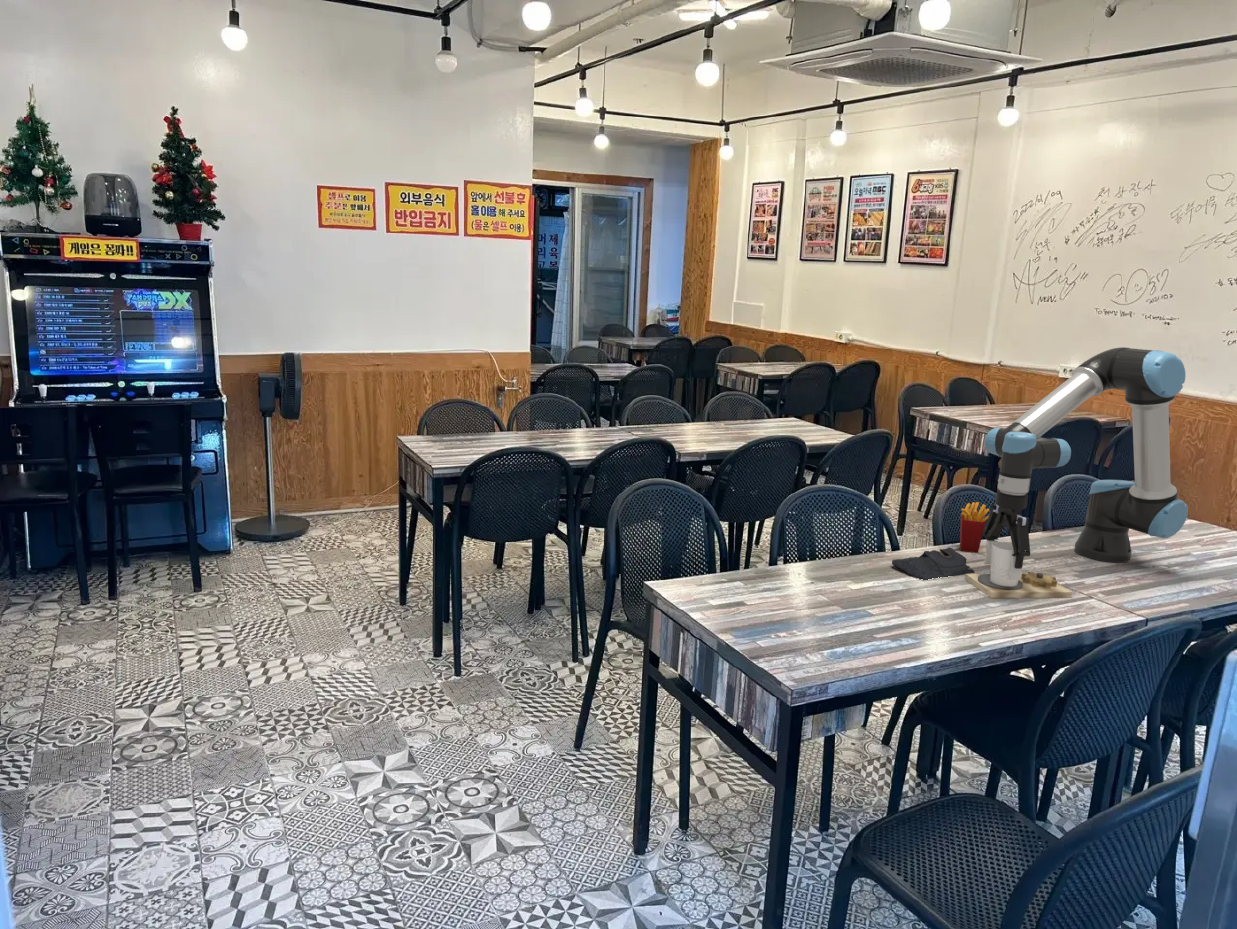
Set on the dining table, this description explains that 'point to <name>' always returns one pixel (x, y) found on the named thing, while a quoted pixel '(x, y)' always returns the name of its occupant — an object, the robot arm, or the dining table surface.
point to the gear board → (1021, 586)
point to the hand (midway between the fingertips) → (1001, 571)
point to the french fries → (972, 527)
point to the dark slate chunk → (934, 564)
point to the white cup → (1001, 564)
